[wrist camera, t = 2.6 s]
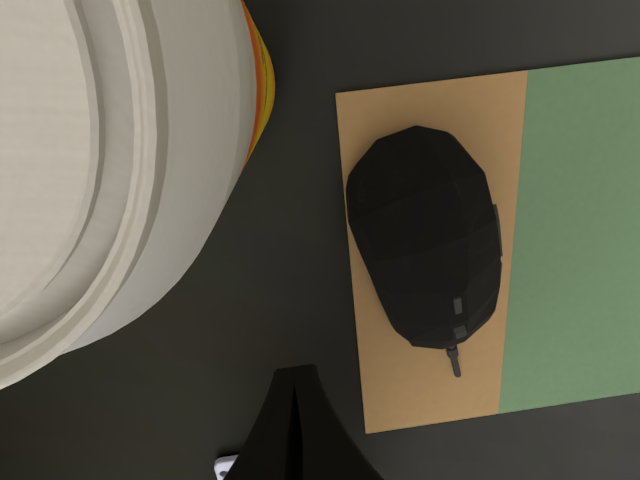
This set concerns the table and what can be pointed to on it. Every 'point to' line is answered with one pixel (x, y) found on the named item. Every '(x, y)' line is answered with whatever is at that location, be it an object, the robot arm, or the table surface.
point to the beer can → (115, 158)
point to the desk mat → (519, 242)
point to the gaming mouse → (427, 236)
